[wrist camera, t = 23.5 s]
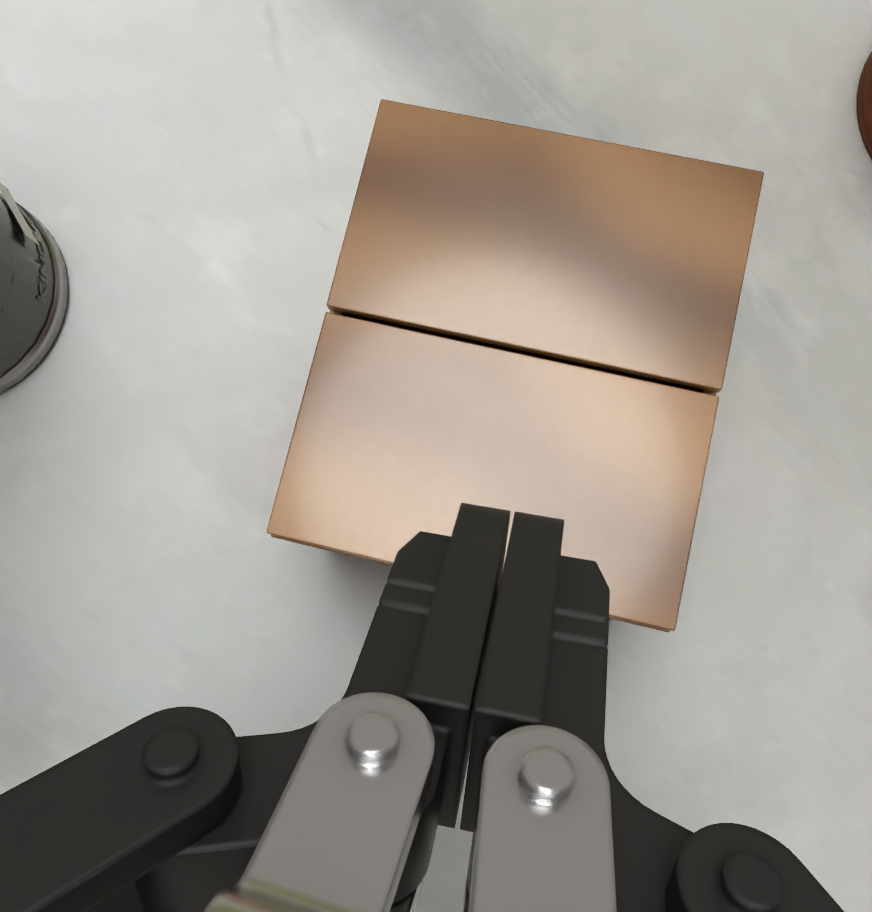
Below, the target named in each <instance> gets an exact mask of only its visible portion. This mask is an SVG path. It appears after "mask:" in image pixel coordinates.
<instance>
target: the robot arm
mask: <svg viewBox="0 0 872 912" xmlns="http://www.w3.org/2000/svg"><path fill="white" fill-rule="evenodd" d="M0 191H1V192H2V193H1V192H0V392H2V391H4V390H6V389H7V388H9V387H11V386H13V385H14V384H15V383H17V382H18V381H20V380H21V379H22V378H24V377H25V376H26V375H27V374H28V373H29V372H31V371H32V370H33V368H34V367H35V366H36V365H37V364H38V363H39V362H40V361H41V360H42V358H43V357H44V356H45V355H46V353H47V352H48V350H49V349H50V347H51V345H52V344H53V342H54V340H55V338H56V336H57V334H58V332H59V329H60V327H61V324H62V321H63V318H64V314H65V309H66V303H67V292H68V284H67V274H66V269H65V264H64V261H63V257H62V255H61V252H60V250H59V248H58V246H57V244H56V242H55V240H54V238H53V237H52V236H51V234H50V233H49V231H48V230H47V229H46V228H45V227H44V225H43V224H42V223H41V222H40V221H38V220H37V219H36V218H35V217H34V216H33V215H32V214H30V213H29V212H28V211H27V210H25V209H24V208H23V207H22V206H20V205H19V204H17V203H16V202H15V201H14V200H13V198H12V196H11V194H10V193H9V191H8V189H7V188H6V187H5V186H3V185H2V184H1V183H0ZM510 514H511V511H508V510H502V509H497V508H491V507H485V506H479V505H473V504H467V503H461V505H460V508H459V512H458V515H457V518H456V522H455V525H454V529H453V532H452V536H445V535H440V534H434V533H428V532H422V531H420V532H419V533H417V534H416V535H415V536H414V537H413V538H412V539H411V540H410V541H409V542H408V543H407V544H406V545H404V546H403V547H402V548H401V549H400V550H399V551H398V552H397V555H396V557H395V560H394V563H393V566H392V568H391V571H390V574H389V576H388V581H387V584H386V585H385V587H384V590H383V593H382V596H381V598H380V602H379V606H378V607H377V609H376V612H375V615H374V618H373V620H372V623H371V626H370V628H369V631H368V634H367V637H366V639H365V642H364V645H363V648H362V650H361V653H360V656H359V659H358V661H357V664H356V667H355V670H354V672H353V675H352V678H351V680H350V683H349V686H348V688H347V690H346V693H345V695H344V696H343V698H342V699H341V701H339V702H337V703H336V704H334V705H333V706H331V707H330V708H329V709H328V710H327V711H326V712H325V713H324V714H323V715H322V716H321V717H320V719H319V720H318V721H317V722H315V723H313V724H311V725H309V726H306V727H304V728H301V729H298V730H294V731H290V732H284V733H276V734H265V735H254V736H243V737H236V736H235V733H234V732H233V730H232V728H231V727H230V725H229V724H228V723H227V722H226V721H225V720H224V719H223V718H221V717H220V716H218V715H217V714H215V713H213V712H211V711H208V710H205V709H201V708H196V707H175V708H169V709H165V710H161V711H158V712H155V713H153V714H151V715H149V716H146V717H144V718H142V719H141V720H139V721H137V722H135V723H133V724H131V725H129V726H128V727H126V728H124V729H122V730H120V731H118V732H116V733H115V734H113V735H111V736H109V737H107V738H105V739H103V740H101V741H100V742H98V743H96V744H94V745H92V746H90V747H88V748H87V749H85V750H83V751H81V752H79V753H77V754H75V755H74V756H72V757H70V758H68V759H66V760H64V761H62V762H61V763H59V764H57V765H55V766H53V767H51V768H49V769H48V770H46V771H44V772H42V773H40V774H38V775H36V776H34V777H33V778H31V779H29V780H27V781H25V782H23V783H21V784H20V785H18V786H16V787H14V788H12V789H10V790H8V791H7V792H5V793H3V794H1V795H0V912H414V911H415V908H416V905H417V901H418V898H419V895H420V891H421V887H422V882H423V878H424V876H425V874H426V872H427V869H428V866H429V863H430V858H431V854H432V849H433V844H434V840H435V835H436V830H437V826H438V825H442V826H446V827H451V828H455V824H456V819H457V814H458V809H459V804H460V799H461V793H462V788H463V783H464V778H465V773H466V768H467V763H468V758H469V763H468V771H467V779H466V786H465V794H464V802H463V810H462V818H461V825H460V829H462V830H466V831H471V832H473V839H472V845H471V852H470V859H469V866H468V874H467V880H466V887H465V894H464V902H463V912H844V911H843V910H842V909H841V908H840V906H839V905H838V904H837V903H836V902H835V901H834V899H833V898H832V897H831V896H830V895H829V894H828V893H827V891H826V890H825V889H824V888H823V887H822V886H821V884H820V883H819V882H818V881H817V880H816V879H815V878H814V876H813V875H812V874H811V873H810V872H809V871H808V869H807V868H806V867H805V866H804V865H803V864H802V862H801V861H800V860H799V859H798V858H797V857H796V856H795V855H794V854H793V853H792V852H791V851H790V850H789V849H788V848H786V847H785V846H784V845H783V844H781V843H780V842H779V841H777V840H776V839H774V838H773V837H771V836H769V835H768V834H766V833H764V832H761V831H759V830H757V829H755V828H751V827H748V826H745V825H740V824H734V823H719V824H713V825H709V826H706V827H704V828H701V829H700V830H698V831H697V832H695V833H693V832H691V831H689V830H687V829H685V828H684V827H682V826H680V825H678V824H676V823H674V822H672V821H670V820H669V819H667V818H665V817H663V816H661V815H659V814H657V813H655V812H654V811H652V810H651V809H649V808H647V807H646V806H644V805H643V804H641V803H640V802H639V801H638V800H636V799H635V798H634V797H633V796H632V795H631V794H630V793H629V792H628V791H627V790H626V789H625V788H624V787H623V786H622V784H621V783H620V782H619V780H618V779H617V778H616V776H615V774H614V772H613V771H612V769H611V767H610V764H609V762H608V759H607V756H606V752H605V744H604V730H605V705H606V679H607V654H608V649H607V645H608V628H609V625H608V621H609V603H610V588H609V586H608V584H607V582H606V580H605V578H604V576H603V574H602V572H601V570H600V568H599V566H598V564H597V562H596V561H591V560H585V559H579V558H573V557H568V556H562V555H561V547H562V538H563V529H564V520H563V519H557V518H551V517H545V516H539V515H533V514H528V513H522V512H516V511H515V513H514V518H513V523H512V528H511V533H510V538H509V543H508V548H507V553H506V558H505V552H506V544H507V537H508V530H509V522H510ZM504 559H505V563H504ZM503 566H504V568H503ZM469 753H470V755H469Z"/></svg>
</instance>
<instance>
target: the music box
mask: <svg viewBox="0 0 872 912" xmlns="http://www.w3.org/2000/svg"><path fill="white" fill-rule="evenodd" d="M857 112H858V120H859V126H860V130H861V134H862V137H863V140H864V142H865V145H866V147H867V149H868V151H869V153H870V155H871V157H872V52H871V54H870V55H869V57H868V59H867V61H866V64H865V66H864V69H863V71H862V74H861V78H860V82H859V87H858V96H857Z"/></svg>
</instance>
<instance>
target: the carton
mask: <svg viewBox="0 0 872 912" xmlns="http://www.w3.org/2000/svg"><path fill="white" fill-rule="evenodd" d="M763 175H764V172H761V171H755V170H750V169H745V168H740V167H734V166H729V165H724V164H719V163H713V162H708V161H703V160H698V159H692V158H687V157H682V156H677V155H671V154H666V153H661V152H656V151H650V150H645V149H640V148H635V147H629V146H624V145H619V144H614V143H608V142H603V141H598V140H593V139H587V138H582V137H577V136H572V135H566V134H561V133H556V132H551V131H545V130H540V129H535V128H530V127H524V126H519V125H514V124H509V123H503V122H498V121H493V120H488V119H482V118H477V117H472V116H467V115H461V114H456V113H451V112H446V111H440V110H435V109H430V108H425V107H419V106H414V105H409V104H404V103H398V102H393V101H388V100H383V99H382V100H381V101H380V105H379V109H378V113H377V117H376V120H375V124H374V128H373V132H372V135H371V139H370V143H369V147H368V150H367V154H366V158H365V162H364V166H363V169H362V173H361V177H360V181H359V184H358V188H357V192H356V196H355V200H354V203H353V207H352V211H351V215H350V218H349V222H348V226H347V230H346V233H345V237H344V241H343V245H342V249H341V252H340V256H339V260H338V264H337V267H336V271H335V275H334V279H333V282H332V286H331V290H330V294H329V298H328V301H327V306H328V308H329V309H330V310H331V311H330V313H333V314H338V315H342V316H347V317H352V318H356V319H361V320H365V321H370V322H375V323H379V324H384V325H389V326H393V327H398V328H403V329H407V330H412V331H417V332H421V333H426V334H431V335H435V336H440V337H445V338H449V337H450V335H451V336H456V337H461V338H465V339H470V340H475V341H479V342H484V343H489V344H493V345H498V346H503V347H507V348H512V349H517V350H521V351H526V352H531V353H535V354H540V355H545V356H549V357H554V358H559V359H563V360H568V361H573V362H577V363H582V364H587V365H590V367H589V369H593V370H598V371H603V372H607V373H612V374H617V375H621V376H626V377H631V378H635V379H640V380H645V381H649V382H654V383H659V384H663V385H668V386H673V387H677V388H682V389H687V390H691V391H696V392H700V393H705V394H710V395H714V396H716V392H719V391H720V390H721V389H722V386H723V381H724V376H725V370H726V365H727V360H728V355H729V350H730V345H731V340H732V334H733V329H734V324H735V319H736V314H737V309H738V304H739V298H740V293H741V288H742V283H743V278H744V273H745V268H746V262H747V257H748V252H749V247H750V242H751V237H752V232H753V226H754V221H755V216H756V211H757V206H758V201H759V196H760V190H761V185H762V180H763ZM271 536H272V537H274V538H278V539H283V540H287V541H291V542H295V543H299V544H303V545H307V546H312V547H316V548H320V549H324V550H328V551H332V552H336V553H341V554H345V555H349V556H353V557H357V558H361V559H366V560H370V561H374V562H378V563H382V564H386V565H390V566H393V564H392V563H388V562H384V561H380V560H376V559H372V558H367V557H363V556H359V555H355V554H351V553H347V552H343V551H338V550H334V549H330V548H326V547H322V546H318V545H313V544H309V543H305V542H301V541H297V540H293V539H289V538H284V537H280V536H276V535H272V534H271ZM609 618H610V619H615V620H619V621H623V622H627V623H631V624H635V625H640V626H644V627H648V628H652V629H656V630H660V631H664V632H669V631H670V630H667V629H663V628H658V627H654V626H650V625H646V624H642V623H638V622H633V621H629V620H625V619H621V618H617V617H613V616H609Z"/></svg>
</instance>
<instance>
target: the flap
mask: <svg viewBox="0 0 872 912" xmlns="http://www.w3.org/2000/svg"><path fill="white" fill-rule="evenodd" d="M718 400H719V397H718V396H714V395H710V394H705V393H700V392H696V391H691V390H687V389H682V388H677V387H673V386H668V385H663V384H659V383H654V382H649V381H645V380H640V379H635V378H631V377H626V376H621V375H617V374H612V373H607V372H603V371H598V370H593V369H589V368H584V367H579V366H575V365H570V364H566V363H561V362H556V361H552V360H547V359H542V358H538V357H533V356H528V355H524V354H519V353H514V352H510V351H505V350H500V349H496V348H491V347H486V346H482V345H477V344H472V343H468V342H463V341H459V340H454V339H449V338H445V337H440V336H435V335H431V334H426V333H421V332H417V331H412V330H407V329H403V328H398V327H393V326H389V325H384V324H379V323H375V322H370V321H365V320H361V319H356V318H352V317H347V316H342V315H338V314H333V313H328V312H326V314H325V317H324V321H323V325H322V328H321V332H320V336H319V340H318V343H317V347H316V351H315V354H314V358H313V362H312V365H311V369H310V373H309V376H308V380H307V384H306V388H305V391H304V395H303V399H302V402H301V406H300V410H299V413H298V417H297V421H296V424H295V428H294V432H293V436H292V439H291V443H290V447H289V450H288V454H287V458H286V461H285V465H284V469H283V472H282V476H281V480H280V484H279V487H278V491H277V495H276V498H275V502H274V506H273V509H272V513H271V517H270V520H269V524H268V528H267V533H268V534H272V535H276V536H280V537H284V538H289V539H293V540H297V541H301V542H305V543H309V544H313V545H318V546H322V547H326V548H330V549H334V550H338V551H343V552H347V553H351V554H355V555H359V556H363V557H367V558H372V559H376V560H380V561H384V562H388V563H392V564H393V563H394V560H395V557H396V555H397V552H398V551H399V550H400V549H401V548H402V547H403V546H404V545H406V544H407V543H408V542H409V541H410V540H411V539H412V538H413V537H414V536H415V535H416V534H417V533H419V532H420V531H422V532H428V533H434V534H440V535H445V536H452V532H453V529H454V525H455V522H456V518H457V515H458V512H459V508H460V505H461V503H467V504H473V505H479V506H485V507H491V508H497V509H502V510H508V511H511V514H510V522H509V530H508V537H507V544H506V552H505V558H506V553H507V548H508V543H509V538H510V533H511V528H512V523H513V518H514V513H515V511H516V512H522V513H528V514H533V515H539V516H545V517H551V518H557V519H563V520H564V529H563V538H562V547H561V555H562V556H568V557H573V558H579V559H585V560H591V561H596V562H597V564H598V566H599V568H600V570H601V572H602V574H603V576H604V578H605V580H606V582H607V584H608V586H609V588H610V603H609V616H613V617H617V618H621V619H625V620H629V621H633V622H638V623H642V624H646V625H650V626H654V627H658V628H663V629H667V630H671V631H674V630H675V627H676V622H677V617H678V611H679V606H680V601H681V596H682V590H683V585H684V580H685V574H686V569H687V564H688V559H689V553H690V548H691V543H692V538H693V532H694V527H695V522H696V516H697V511H698V506H699V501H700V495H701V490H702V485H703V479H704V474H705V469H706V464H707V458H708V453H709V448H710V443H711V437H712V432H713V427H714V421H715V416H716V411H717V406H718ZM504 563H505V559H504ZM503 568H504V566H503Z"/></svg>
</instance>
